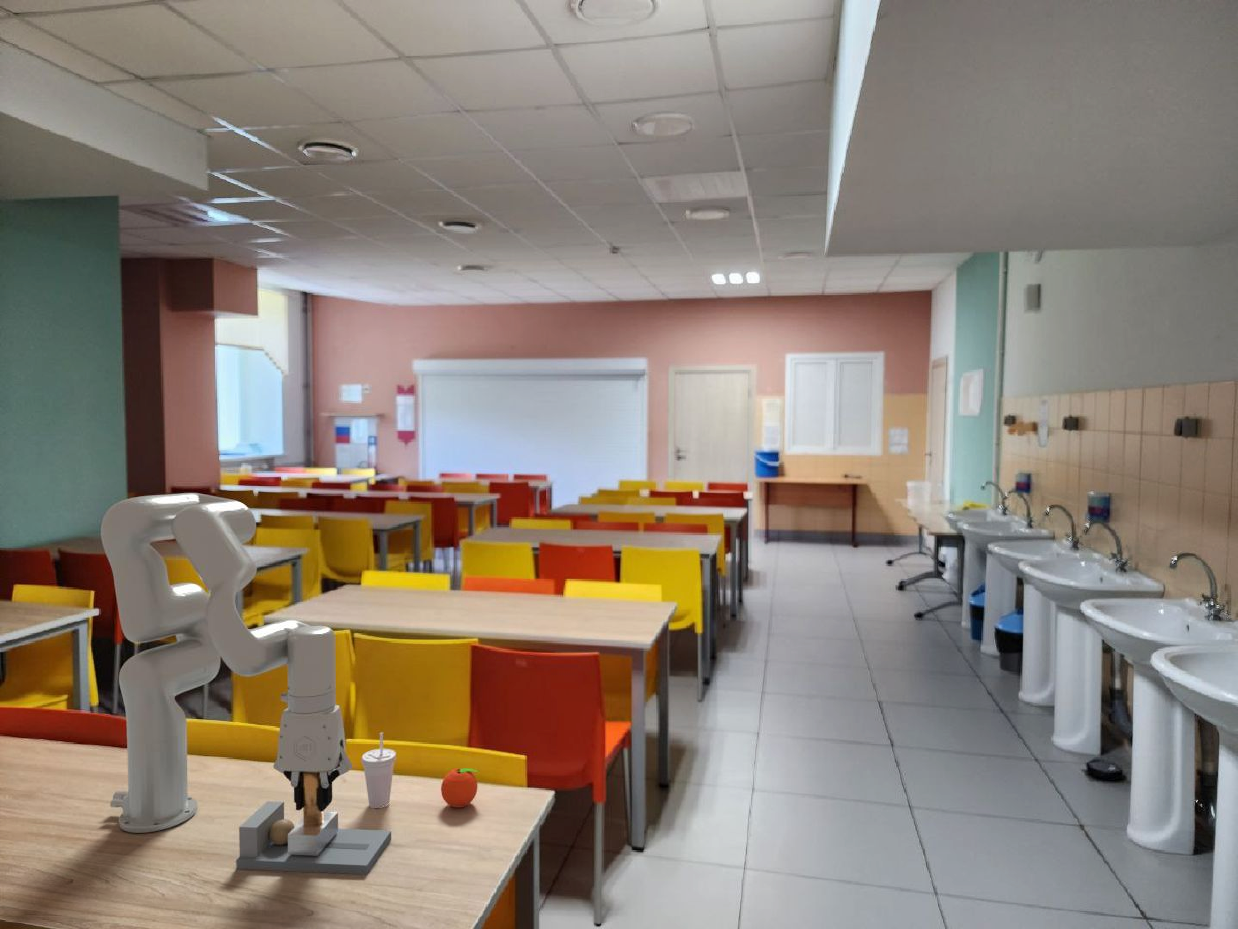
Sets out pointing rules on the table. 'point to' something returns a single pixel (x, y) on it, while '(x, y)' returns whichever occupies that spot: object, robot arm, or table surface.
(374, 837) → the frame
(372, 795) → the smoothie
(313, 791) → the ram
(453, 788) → the clementine
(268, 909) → the table surface
